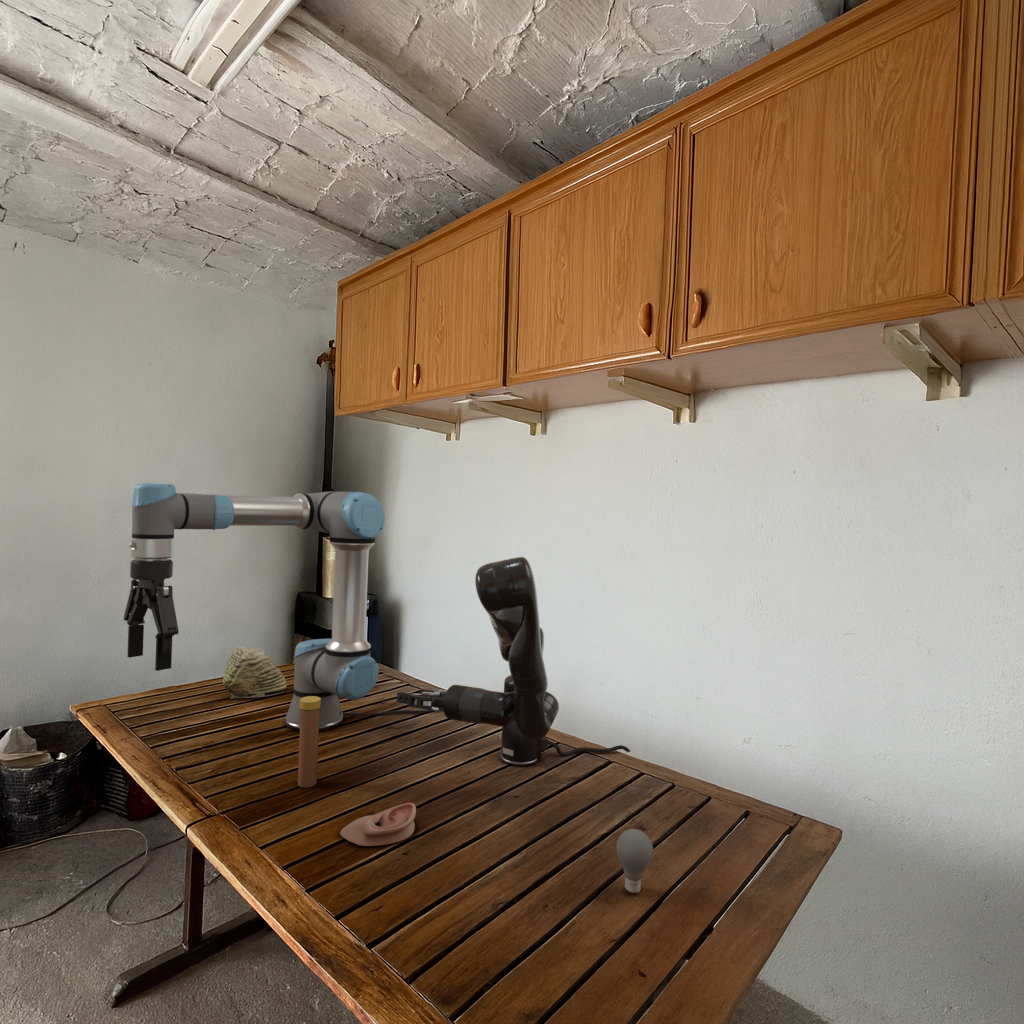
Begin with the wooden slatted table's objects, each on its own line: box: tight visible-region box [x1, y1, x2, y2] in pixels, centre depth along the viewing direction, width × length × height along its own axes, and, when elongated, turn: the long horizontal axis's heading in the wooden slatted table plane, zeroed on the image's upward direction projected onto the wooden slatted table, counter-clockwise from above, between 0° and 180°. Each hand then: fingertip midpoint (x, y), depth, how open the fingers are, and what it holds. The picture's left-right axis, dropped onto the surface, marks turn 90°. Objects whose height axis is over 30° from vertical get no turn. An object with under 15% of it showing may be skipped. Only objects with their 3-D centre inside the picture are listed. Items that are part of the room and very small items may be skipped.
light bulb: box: [615, 828, 654, 894], centre depth 106 cm, size 6×6×10 cm
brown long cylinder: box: [297, 708, 320, 789], centre depth 139 cm, size 4×4×18 cm
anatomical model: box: [339, 802, 417, 847], centre depth 121 cm, size 13×4×12 cm
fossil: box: [222, 646, 288, 699], centre depth 198 cm, size 9×18×15 cm, turn 132°
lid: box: [300, 696, 321, 710], centre depth 139 cm, size 4×4×2 cm
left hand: (148, 662), depth 129 cm, fingers open, 13 cm apart
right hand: (408, 695), depth 146 cm, fingers open, 8 cm apart
